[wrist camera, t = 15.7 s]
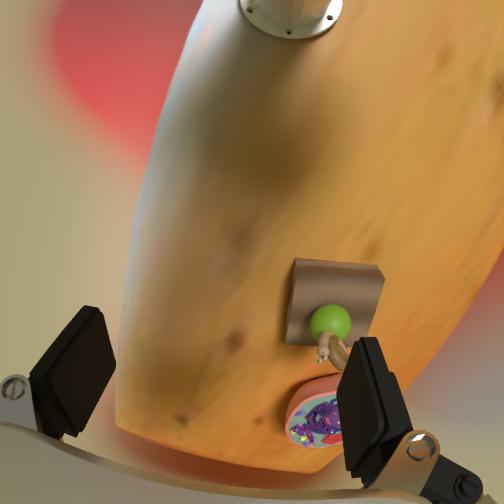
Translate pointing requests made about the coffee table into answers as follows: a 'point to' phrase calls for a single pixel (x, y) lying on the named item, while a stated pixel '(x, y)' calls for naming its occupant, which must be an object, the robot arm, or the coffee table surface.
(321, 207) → the coffee table surface
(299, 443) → the cell model
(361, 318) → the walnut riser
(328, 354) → the snail figurine
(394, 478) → the robot arm
